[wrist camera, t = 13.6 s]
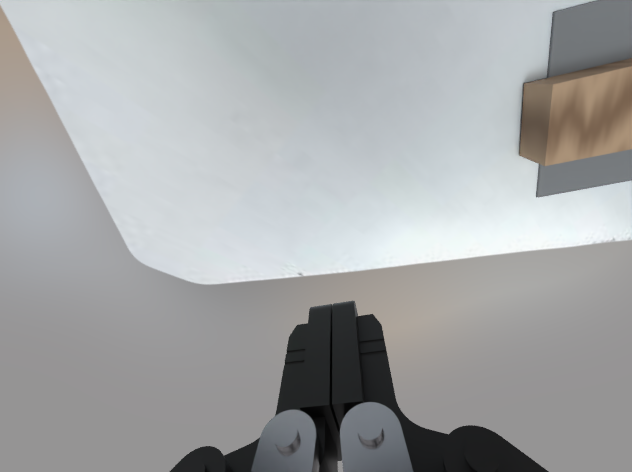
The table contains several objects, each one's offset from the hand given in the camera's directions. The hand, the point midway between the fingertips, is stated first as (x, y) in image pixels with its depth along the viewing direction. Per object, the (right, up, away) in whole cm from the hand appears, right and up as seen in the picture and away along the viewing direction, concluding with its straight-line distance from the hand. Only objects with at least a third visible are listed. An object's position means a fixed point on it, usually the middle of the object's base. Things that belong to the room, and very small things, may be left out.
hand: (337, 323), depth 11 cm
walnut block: (+23, +15, +23) cm, 36 cm away
